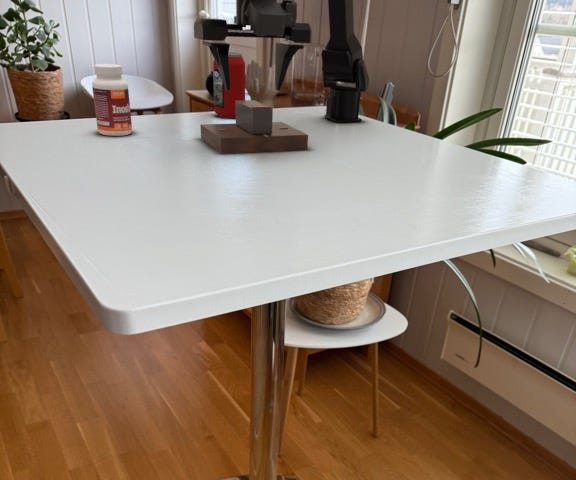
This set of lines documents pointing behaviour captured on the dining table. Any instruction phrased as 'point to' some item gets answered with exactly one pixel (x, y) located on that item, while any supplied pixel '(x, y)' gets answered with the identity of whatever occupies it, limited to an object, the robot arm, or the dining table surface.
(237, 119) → the rectangular block
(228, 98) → the beverage can
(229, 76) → the robot arm
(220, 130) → the brown wooden base
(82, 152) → the dining table surface
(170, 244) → the dining table surface
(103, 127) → the pill bottle
